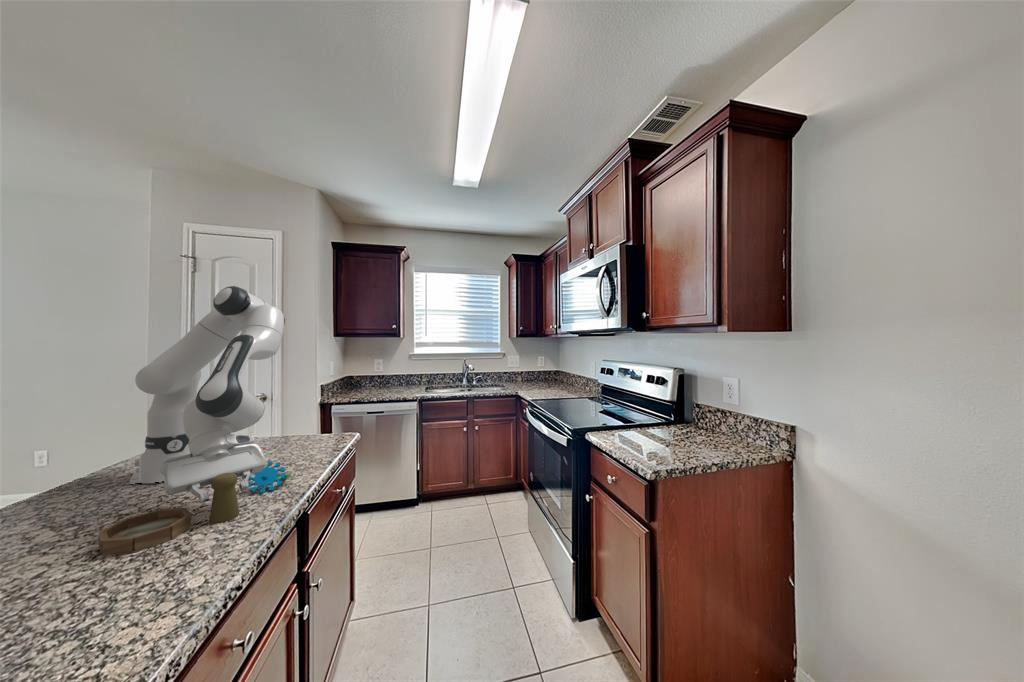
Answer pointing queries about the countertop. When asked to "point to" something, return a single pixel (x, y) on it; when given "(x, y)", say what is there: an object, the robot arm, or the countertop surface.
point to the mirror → (144, 531)
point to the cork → (224, 498)
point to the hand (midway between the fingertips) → (225, 494)
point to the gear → (268, 477)
